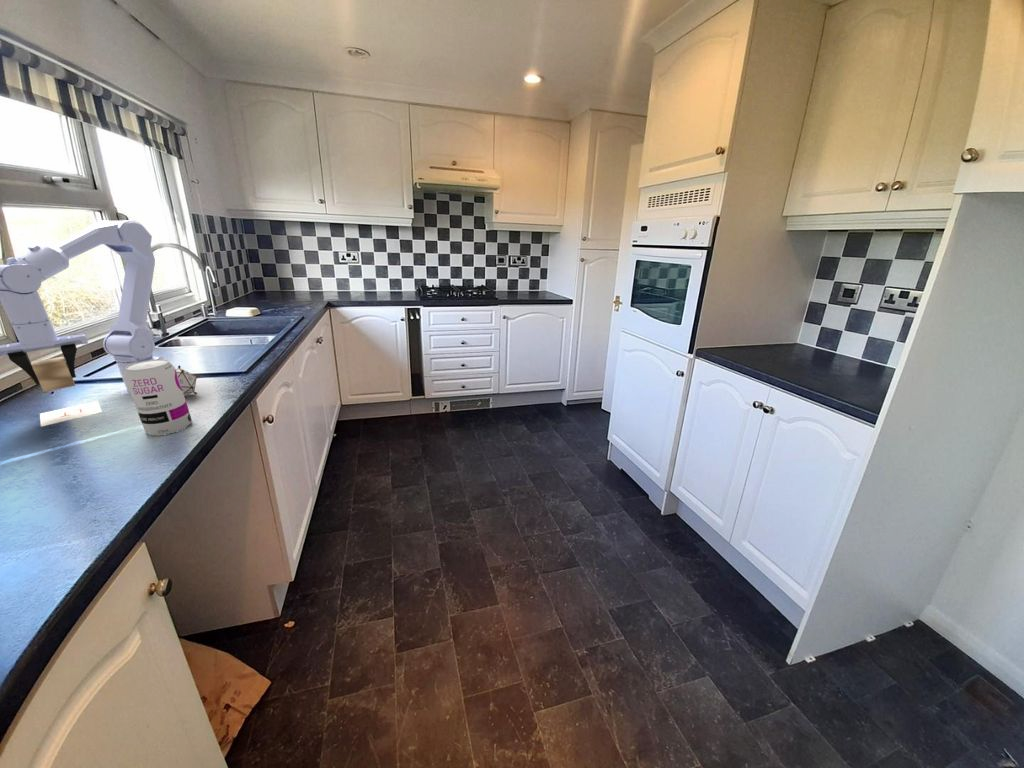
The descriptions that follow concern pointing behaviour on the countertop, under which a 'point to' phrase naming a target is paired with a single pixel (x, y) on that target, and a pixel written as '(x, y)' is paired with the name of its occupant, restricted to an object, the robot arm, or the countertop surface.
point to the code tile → (69, 413)
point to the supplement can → (158, 396)
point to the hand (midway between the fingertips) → (56, 379)
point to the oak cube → (53, 374)
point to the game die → (186, 381)
